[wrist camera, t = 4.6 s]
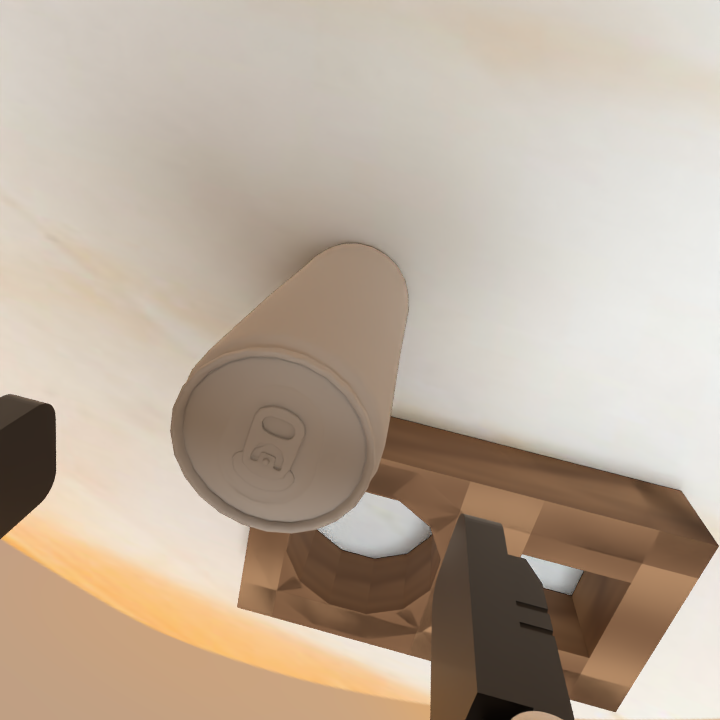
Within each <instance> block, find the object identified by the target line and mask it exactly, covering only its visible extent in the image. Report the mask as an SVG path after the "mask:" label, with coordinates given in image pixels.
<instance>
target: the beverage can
mask: <svg viewBox="0 0 720 720" xmlns="http://www.w3.org/2000/svg"><path fill="white" fill-rule="evenodd" d="M408 311H409V305H408V292H407V287H406V283H405V279H404V277H403V275H402V273H401V271H400V269H399V268H398V266H397V265H396V264H395V263H394V262H393V261H392V260H391V259H390V258H389V257H388V256H387V255H385V254H384V253H382V252H380V251H379V250H377V249H375V248H373V247H370V246H366V245H362V244H359V243H356V244H341V245H337V246H334V247H331V248H328V249H327V250H325V251H323V252H322V253H320V254H318V255H317V256H315V257H314V258H313V259H312V260H311V261H310V262H309V263H308V264H306V265H305V266H304V267H303V268H302V269H301V270H300V271H298V272H297V273H296V274H295V275H293V276H292V277H291V278H290V279H289V280H287V281H286V282H285V283H284V284H282V285H281V286H280V287H279V288H278V289H276V290H275V291H274V292H273V293H272V294H271V295H269V296H268V297H267V298H266V299H265V300H264V301H263V302H262V303H260V304H259V305H258V306H257V307H256V308H255V309H254V310H253V311H252V312H251V313H249V314H248V315H247V316H246V317H245V318H244V319H243V320H242V321H241V322H240V323H238V324H237V325H236V326H235V327H234V328H233V329H232V330H231V331H230V332H229V333H227V334H226V335H225V336H224V337H223V338H222V339H221V340H220V341H219V342H218V343H217V344H215V345H214V346H213V347H212V348H211V349H210V350H209V351H208V352H207V353H206V355H205V356H204V357H203V358H202V359H201V360H200V361H199V362H198V363H197V364H196V366H195V367H194V368H193V369H192V371H191V373H190V375H189V377H188V380H187V382H186V383H185V384H184V385H183V387H182V389H181V391H180V393H179V396H178V398H177V400H176V402H175V404H174V407H173V412H172V421H171V430H170V432H171V438H172V444H173V449H174V455H175V457H176V459H177V461H178V463H179V466H180V468H181V470H182V472H183V474H184V476H185V478H186V479H187V480H188V482H189V483H190V484H191V485H192V487H193V488H194V489H195V491H196V492H197V493H198V494H199V496H200V497H201V498H203V499H204V500H205V501H206V502H208V503H209V504H210V505H211V506H212V507H214V508H215V509H216V510H217V511H218V512H220V513H222V514H223V515H225V516H227V517H229V518H231V519H233V520H235V521H237V522H238V523H240V524H242V525H246V526H249V527H253V528H256V529H259V530H263V531H266V532H279V533H298V532H304V531H311V530H316V529H318V528H321V527H323V526H326V525H328V524H331V523H333V522H336V521H337V520H339V519H340V518H341V517H342V516H344V515H345V514H346V513H348V512H349V511H350V510H351V509H353V508H354V507H355V506H356V504H357V503H358V502H359V500H360V499H361V497H362V496H363V494H364V493H365V492H366V490H367V489H368V487H369V483H370V481H371V479H372V478H373V477H374V475H375V474H376V472H377V470H378V467H379V464H380V460H381V457H382V454H383V451H384V447H385V443H386V438H387V433H388V427H389V422H390V416H391V410H392V404H393V398H394V391H395V385H396V378H397V372H398V365H399V359H400V353H401V347H402V342H403V337H404V332H405V326H406V321H407V316H408Z"/></svg>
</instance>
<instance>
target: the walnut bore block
mask: <svg viewBox="0 0 720 720" xmlns="http://www.w3.org/2000/svg"><path fill="white" fill-rule="evenodd" d="M366 492H368V493H372V494H375V495H379V496H383V497H387V498H391V499H394V500H398V501H400V502H401V503H403V504H404V505H405V506H406V507H407V508H408V509H410V510H411V511H412V512H413V513H414V514H416V515H417V516H418V517H419V518H420V519H421V520H423V521H424V522H425V523H426V524H427V525H428V526H430V528H431V531H432V536H431V537H429V538H428V539H427V540H425V541H424V542H423V543H421V544H420V545H419V546H417V547H416V548H415V549H413V550H412V551H411V552H409V553H408V554H404V555H398V556H391V557H385V558H378V559H372V558H369V557H365V556H361V555H357V554H354V553H350V552H346V551H343V550H341V549H340V548H338V547H337V546H336V545H335V544H333V543H332V542H331V541H330V540H328V539H327V538H326V537H325V536H324V535H322V534H321V533H320V532H319V531H317V530H311V531H304V532H298V533H279V532H266V531H263V530H259V529H256V528H253V527H250V531H249V537H248V543H247V550H246V556H245V562H244V568H243V574H242V580H241V586H240V592H239V599H238V605H237V607H238V608H241V609H245V610H249V611H252V612H256V613H260V614H263V615H267V616H270V617H274V618H278V619H281V620H285V621H288V622H292V623H296V624H299V625H303V626H306V627H310V628H314V629H317V630H321V631H324V632H328V633H332V634H335V635H339V636H343V637H346V638H350V639H353V640H357V641H361V642H364V643H368V644H371V645H375V646H379V647H382V648H386V649H389V650H393V651H397V652H400V653H404V654H407V655H411V656H415V657H418V658H422V659H425V660H429V661H431V638H432V602H433V595H434V589H435V584H436V580H437V577H438V573H439V570H440V568H441V565H442V562H443V559H444V556H445V553H446V551H447V548H448V545H449V542H450V539H451V536H452V534H453V531H454V528H455V525H456V522H457V520H458V518H459V516H460V515H461V514H462V513H463V514H467V515H471V516H475V517H479V518H482V519H486V520H490V521H494V522H498V523H501V524H502V526H503V529H504V535H505V541H506V546H507V552H508V554H509V555H512V556H516V557H521V555H522V554H524V555H527V556H531V557H535V558H539V559H543V560H546V561H550V562H554V563H558V564H561V565H565V566H569V567H573V568H576V569H580V570H584V573H583V575H582V577H581V579H580V581H579V583H578V585H577V587H576V589H575V591H574V593H573V595H572V596H570V595H566V594H562V593H559V592H555V591H551V590H547V589H544V588H543V590H544V594H545V598H546V602H547V606H548V614H549V615H550V619H551V623H552V627H553V636H555V640H556V644H557V648H558V653H559V657H560V661H561V665H562V669H563V674H564V678H565V682H566V686H567V690H568V695H569V699H570V700H573V701H577V702H581V703H584V704H588V705H591V706H595V707H599V708H602V709H606V710H609V711H613V712H616V711H617V709H618V707H619V706H620V704H621V703H622V701H623V699H624V698H625V696H626V695H627V693H628V691H629V690H630V688H631V687H632V685H633V683H634V682H635V680H636V679H637V677H638V675H639V674H640V672H641V670H642V669H643V667H644V666H645V664H646V662H647V661H648V659H649V658H650V656H651V654H652V653H653V651H654V650H655V648H656V646H657V645H658V643H659V642H660V640H661V638H662V637H663V635H664V634H665V632H666V630H667V629H668V627H669V625H670V624H671V622H672V621H673V619H674V617H675V616H676V614H677V613H678V611H679V609H680V608H681V606H682V605H683V603H684V601H685V600H686V598H687V597H688V595H689V593H690V592H691V590H692V588H693V587H694V585H695V584H696V582H697V580H698V579H699V577H700V576H701V574H702V572H703V571H704V569H705V568H706V566H707V564H708V563H709V561H710V560H711V558H712V556H713V555H714V553H715V551H716V550H717V548H718V547H719V545H718V544H717V543H716V541H715V540H714V538H713V537H712V535H711V534H710V532H709V531H708V529H707V528H706V526H705V525H704V523H703V522H702V520H701V519H700V518H699V516H698V515H697V513H696V512H695V510H694V509H693V507H692V506H691V504H690V503H689V501H688V500H687V498H686V497H685V495H684V494H683V493H682V491H679V490H675V489H671V488H667V487H663V486H659V485H655V484H651V483H648V482H644V481H640V480H636V479H632V478H628V477H624V476H620V475H616V474H613V473H609V472H605V471H601V470H597V469H593V468H589V467H585V466H581V465H577V464H574V463H570V462H566V461H562V460H558V459H554V458H550V457H546V456H542V455H538V454H535V453H531V452H527V451H523V450H519V449H515V448H511V447H507V446H503V445H499V444H496V443H492V442H488V441H484V440H480V439H476V438H472V437H468V436H464V435H461V434H457V433H453V432H449V431H445V430H441V429H437V428H433V427H429V426H425V425H422V424H418V423H414V422H410V421H406V420H402V419H398V418H394V417H390V422H389V427H388V433H387V438H386V443H385V447H384V451H383V454H382V457H381V460H380V464H379V467H378V470H377V472H376V474H375V475H374V477H373V478H372V479H371V481H370V483H369V487H368V489H367V490H366Z"/></svg>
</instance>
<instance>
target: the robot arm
mask: <svg viewBox="0 0 720 720" xmlns="http://www.w3.org/2000/svg"><path fill="white" fill-rule="evenodd" d="M55 475H56V417H55V411H54V408H53V407H52V406H51V405H50V404H47V403H43V402H39V401H36V400H32V399H28V398H24V397H20V396H17V395H13V394H8V395H4V396H2V397H0V539H1V538H2V537H3V536H4V535H5V534H7V533H8V532H9V531H10V530H11V529H12V528H13V527H14V526H16V525H17V524H18V523H19V522H20V521H21V520H22V519H23V518H24V517H26V516H27V515H28V514H29V513H30V512H31V511H32V510H33V509H34V508H36V507H37V506H38V505H39V504H40V503H41V502H42V501H43V500H44V499H45V497H46V496H47V494H48V493H49V491H50V489H51V487H52V485H53V482H54V479H55ZM430 720H574V716H573V711H572V707H571V703H570V699H569V695H568V690H567V686H566V682H565V678H564V674H563V669H562V665H561V661H560V657H559V653H558V648H557V644H556V640H555V636H553V627H552V623H551V619H550V615H549V614H548V606H547V602H546V598H545V594H544V590H543V585H542V583H541V581H540V580H539V578H538V577H537V575H536V574H535V572H534V571H533V569H532V568H531V566H530V565H529V563H528V562H527V560H526V559H524V558H520V557H516V556H512V555H509V554H508V552H507V546H506V541H505V535H504V529H503V526H502V524H501V523H498V522H494V521H490V520H486V519H482V518H479V517H475V516H471V515H467V514H463V513H462V514H461V515H460V516H459V518H458V520H457V522H456V525H455V528H454V531H453V534H452V536H451V539H450V542H449V545H448V548H447V551H446V553H445V556H444V559H443V562H442V565H441V568H440V570H439V573H438V577H437V580H436V584H435V589H434V595H433V602H432V638H431V716H430Z"/></svg>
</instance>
